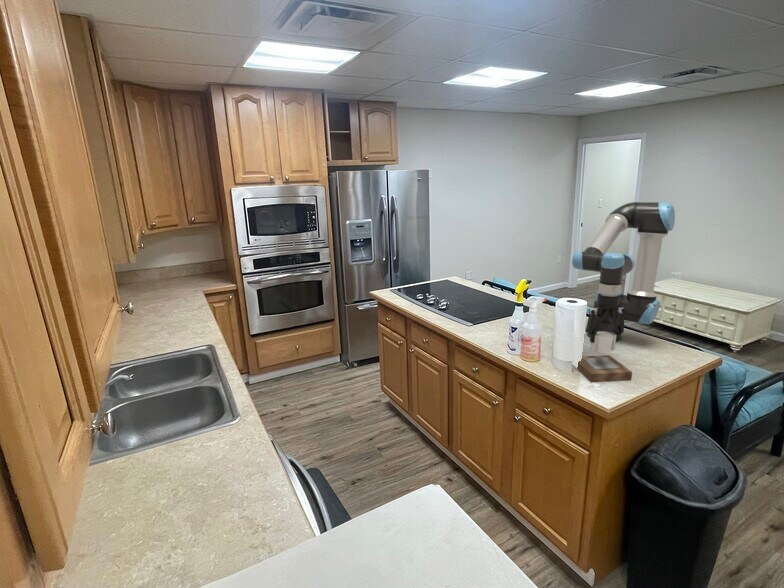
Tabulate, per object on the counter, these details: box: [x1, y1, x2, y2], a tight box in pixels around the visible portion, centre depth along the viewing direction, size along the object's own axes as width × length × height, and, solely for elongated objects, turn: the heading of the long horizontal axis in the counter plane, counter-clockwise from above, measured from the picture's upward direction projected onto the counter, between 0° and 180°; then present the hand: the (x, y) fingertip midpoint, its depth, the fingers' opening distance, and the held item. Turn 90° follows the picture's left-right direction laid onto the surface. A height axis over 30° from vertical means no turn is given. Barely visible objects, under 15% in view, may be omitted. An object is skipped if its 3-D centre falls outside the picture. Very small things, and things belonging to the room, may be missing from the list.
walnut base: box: [576, 354, 633, 383], centre depth 169 cm, size 16×16×4 cm
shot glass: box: [595, 331, 614, 354], centre depth 166 cm, size 7×7×7 cm
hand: (602, 349), depth 167 cm, fingers closed on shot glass, 7 cm apart
